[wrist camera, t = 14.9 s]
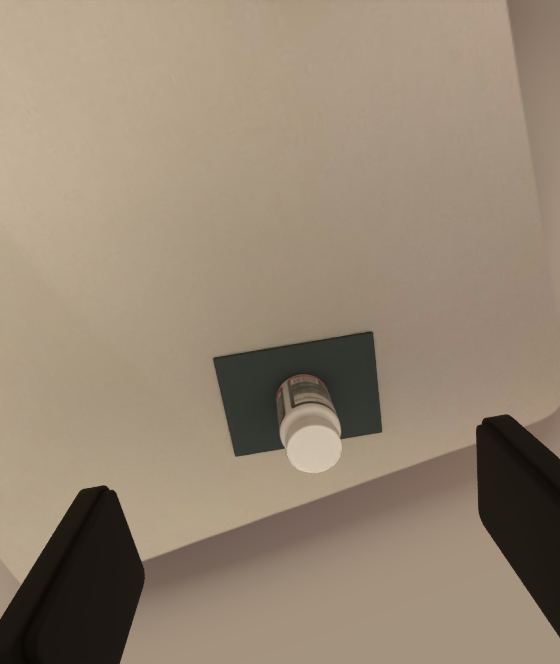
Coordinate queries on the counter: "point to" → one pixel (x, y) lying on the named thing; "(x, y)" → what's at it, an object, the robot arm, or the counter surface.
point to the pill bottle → (308, 424)
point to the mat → (287, 361)
